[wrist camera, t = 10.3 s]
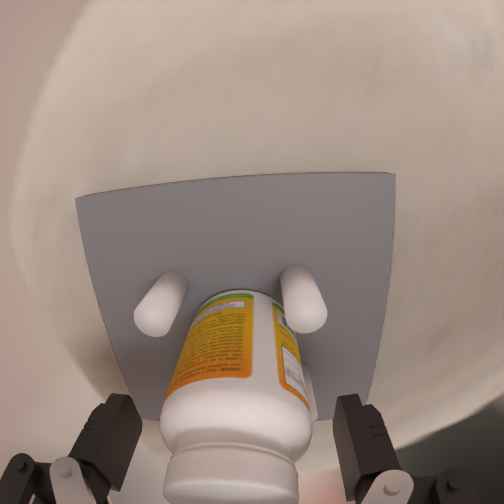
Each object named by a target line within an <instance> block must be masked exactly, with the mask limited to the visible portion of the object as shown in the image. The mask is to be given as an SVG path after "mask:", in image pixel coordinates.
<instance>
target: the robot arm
mask: <svg viewBox="0 0 504 504" xmlns="http://www.w3.org/2000/svg"><path fill="white" fill-rule="evenodd" d="M141 432H142V419H141V417H140V415H139V413H138V411H137V409H136V407H135V404H134V402H133V400H132V398H131V397H130V396H129V395H123V394H116V393H112V394H110V396H109V397H108V399H107V401H106V403H105V404H103V403H101V404H100V405H99V406H97V407H96V408H95V409H94V410H93V411H92V413H91V415H90V416H89V418H88V422H86V424H85V425H84V429H82V431H81V433H80V435H79V437H78V438H77V440H76V442H75V444H74V446H73V448H72V450H71V452H70V453H69V455H68V456H67V457H61V458H58V459H56V460H55V461H54V462H53V463H39V462H35V461H34V460H33V459H32V458H31V457H30V456H29V455H27V454H24V453H20V454H17V455H15V456H14V457H12V459H11V460H10V462H9V464H8V466H7V468H6V469H5V471H4V473H3V476H2V477H1V480H0V504H29V502H30V499H31V497H32V495H35V498H34V501H33V503H32V504H112V501H111V499H110V497H109V495H108V493H109V491H110V489H111V490H115V491H118V492H120V490H121V487H122V484H123V481H124V478H125V476H126V472H127V470H128V467H129V464H130V461H131V459H132V456H133V453H134V451H135V448H136V445H137V443H138V440H139V437H140V435H141ZM333 434H334V439H335V444H336V448H337V453H338V458H339V463H340V468H341V473H342V478H343V483H344V488H345V494H346V499H347V501H352V500H355V501H356V504H480V501H479V498H478V495H477V492H476V489H475V486H474V484H473V481H472V479H471V476H470V475H469V473H468V472H467V471H466V470H464V469H462V468H458V467H455V468H450V469H447V470H445V471H444V472H443V473H442V474H441V475H440V476H432V477H415V476H412V475H409V474H407V473H406V472H404V471H403V469H402V468H401V467H400V465H399V462H398V460H397V456H396V454H395V451H394V448H393V445H392V443H391V440H390V437H389V434H388V432H387V429H386V426H384V421H383V419H382V416H381V413H380V412H379V411H378V410H377V409H376V408H375V407H374V406H373V405H372V404H370V405H364V406H362V403H361V400H360V397H359V395H358V394H357V393H355V394H349V395H342V396H338V397H337V401H336V406H335V412H334V417H333Z"/></svg>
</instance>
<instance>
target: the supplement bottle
mask: <svg viewBox="0 0 504 504" xmlns="http://www.w3.org/2000/svg"><path fill="white" fill-rule="evenodd" d="M160 431H161V435H162V437H163V440H164V442H165V444H166V446H167V447H168V448H169V450H170V451H171V452H172V453H173V454H172V456H171V459H170V462H169V464H168V467H167V472H166V476H165V481H164V486H163V496H164V498H165V499H166V500H167V501H168V502H169V503H170V504H298V501H299V497H298V496H299V495H298V474H297V471H296V469H295V466H294V463H295V462H297V461H298V460H299V459H300V458H301V457H302V456H303V454H304V453H305V452H306V450H307V448H308V446H309V444H310V441H311V436H312V423H311V414H310V409H309V404H308V398H307V392H306V387H305V381H304V375H303V371H302V364H301V360H300V354H299V349H298V343H297V339H296V334H295V331H293V330H292V329H291V328H290V327H289V326H288V324H287V322H286V317H285V310H284V307H283V306H282V305H281V304H280V303H279V302H277V301H276V300H275V299H273V298H271V297H269V296H267V295H265V294H262V293H259V292H255V291H250V290H233V291H228V292H224V293H221V294H218V295H216V296H214V297H212V298H210V299H209V300H208V301H206V302H205V303H204V304H203V305H202V306H201V307H200V309H199V310H198V311H197V313H196V315H195V317H194V319H193V321H192V323H191V326H190V329H189V331H188V335H187V338H186V340H185V343H184V346H183V349H182V352H181V354H180V357H179V360H178V363H177V365H176V368H175V371H174V374H173V377H172V380H171V383H170V386H169V389H168V392H167V395H166V398H165V401H164V404H163V408H162V412H161V416H160Z"/></svg>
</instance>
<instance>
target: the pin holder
mask: <svg viewBox="0 0 504 504" xmlns="http://www.w3.org/2000/svg"><path fill="white" fill-rule="evenodd" d="M75 200H76V207H77V213H78V219H79V225H80V230H81V235H82V240H83V245H84V250H85V254H86V259H87V263H88V267H89V271H90V275H91V279H92V283H93V287H94V291H95V294H96V298H97V301H98V305H99V308H100V311H101V314H102V318H103V321H104V324H105V327H106V330H107V333H108V336H109V339H110V342H111V344H112V347H113V350H114V353H115V355H116V358H117V361H118V363H119V366H120V368H121V371H122V373H123V376H124V378H125V381H126V383H127V385H128V388H129V390H130V392H131V395H132V397H133V399H134V401H135V403H136V406H137V408H138V410H139V412H140V414H141V416H142V418H143V419H149V420H158V421H160V416H161V412H162V408H163V404H164V401H165V398H166V395H167V392H168V389H169V386H170V383H171V380H172V377H173V374H174V371H175V368H176V365H177V363H178V360H179V357H180V354H181V352H182V349H183V346H184V343H185V340H186V338H187V335H188V331H189V329H190V326H191V323H192V321H193V319H194V317H195V315H196V313H197V311H198V310H199V309H200V307H201V306H202V305H203V304H204V303H205V302H206V301H208V300H209V299H210V298H212V297H214V296H216V295H218V294H221V293H224V292H228V291H233V290H250V291H255V292H259V293H262V294H265V295H267V296H269V297H271V298H273V299H275V300H276V301H277V302H279V303H280V304H281V305H282V306H283V307H284V310H285V317H286V322H287V324H288V326H289V327H290V328H291V329H292V330H293V331H295V334H296V339H297V343H298V349H299V354H300V360H301V364H302V371H303V375H304V381H305V387H306V392H307V398H308V404H309V409H310V414H311V423H313V422H314V421H320V420H329V419H333V417H334V412H335V406H336V401H337V397H338V396H342V395H349V394H355V393H357V394H358V395H359V397H360V400H361V403H362V406H364V405H365V404H366V401H367V397H368V393H369V389H370V385H371V381H372V377H373V373H374V368H375V364H376V359H377V355H378V350H379V345H380V339H381V334H382V328H383V323H384V317H385V310H386V303H387V296H388V289H389V281H390V272H391V262H392V251H393V237H394V220H395V174H392V173H386V172H308V173H281V174H262V175H246V176H232V177H220V178H209V179H198V180H189V181H179V182H171V183H163V184H155V185H147V186H140V187H133V188H126V189H120V190H113V191H107V192H101V193H95V194H90V195H85V196H82V197H78V198H75Z"/></svg>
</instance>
